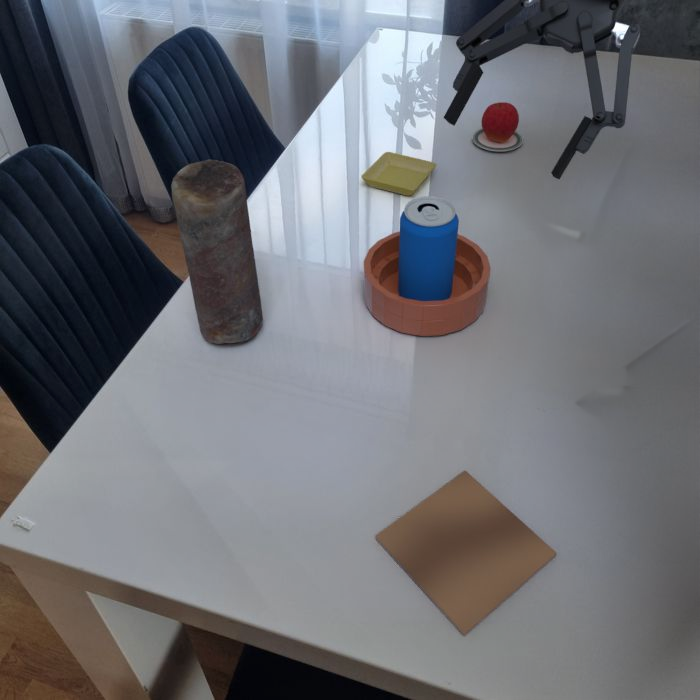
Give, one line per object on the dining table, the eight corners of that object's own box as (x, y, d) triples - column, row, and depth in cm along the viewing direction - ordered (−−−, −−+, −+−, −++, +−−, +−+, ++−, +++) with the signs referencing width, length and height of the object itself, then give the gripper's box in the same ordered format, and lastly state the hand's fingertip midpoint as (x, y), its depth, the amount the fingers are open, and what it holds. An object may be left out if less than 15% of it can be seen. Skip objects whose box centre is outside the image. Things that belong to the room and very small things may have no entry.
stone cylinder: (269, 308, 82) (247, 158, 68) (262, 351, 77) (236, 198, 63) (207, 308, 83) (172, 158, 69) (195, 351, 77) (155, 198, 63)
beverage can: (443, 274, 85) (450, 191, 77) (457, 308, 81) (467, 223, 72) (392, 281, 85) (394, 197, 76) (404, 315, 80) (407, 230, 72)
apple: (464, 147, 109) (468, 108, 104) (481, 126, 114) (486, 87, 109) (513, 158, 106) (519, 118, 101) (528, 135, 111) (535, 96, 106)
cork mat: (556, 556, 58) (557, 553, 58) (464, 637, 54) (464, 633, 53) (464, 473, 65) (465, 469, 64) (375, 539, 60) (375, 535, 60)
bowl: (510, 302, 82) (516, 269, 78) (420, 357, 76) (422, 323, 72) (427, 246, 90) (429, 214, 87) (340, 292, 84) (338, 259, 81)
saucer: (385, 162, 106) (386, 150, 105) (437, 175, 103) (438, 162, 102) (360, 189, 101) (359, 176, 99) (413, 203, 98) (414, 190, 96)
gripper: (718, 20, 70) (603, 204, 76) (508, -67, 77) (416, 108, 82) (729, -11, 63) (602, 195, 69) (497, -103, 70) (398, 91, 76)
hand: (500, 148), depth 76 cm, fingers open, 13 cm apart
